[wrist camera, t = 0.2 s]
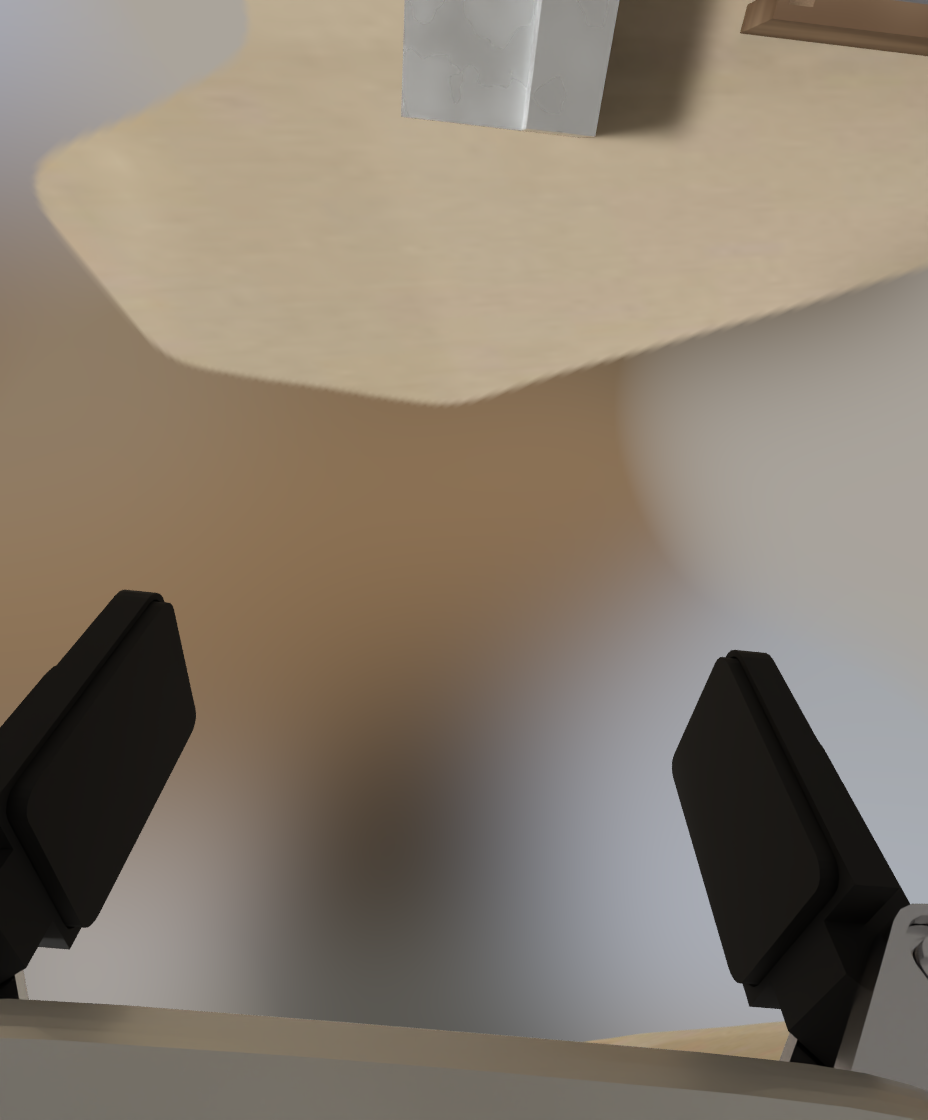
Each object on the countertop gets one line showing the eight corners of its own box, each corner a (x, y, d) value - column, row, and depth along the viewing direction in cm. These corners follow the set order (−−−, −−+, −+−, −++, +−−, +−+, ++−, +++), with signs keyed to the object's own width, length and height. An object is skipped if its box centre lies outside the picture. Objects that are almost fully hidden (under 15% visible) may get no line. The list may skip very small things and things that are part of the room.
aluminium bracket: (578, 137, 31) (595, 136, 26) (403, 117, 31) (387, 112, 26) (615, -84, 27) (643, -135, 22) (410, -109, 27) (392, -167, 22)
